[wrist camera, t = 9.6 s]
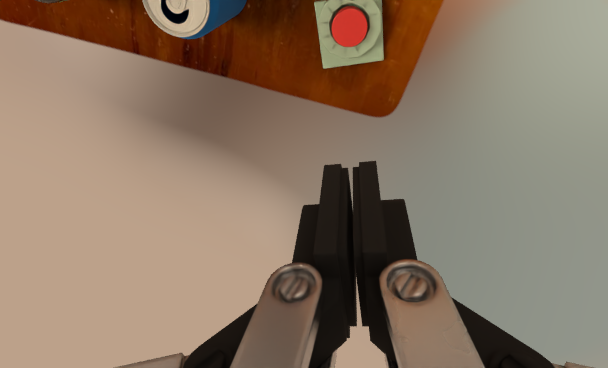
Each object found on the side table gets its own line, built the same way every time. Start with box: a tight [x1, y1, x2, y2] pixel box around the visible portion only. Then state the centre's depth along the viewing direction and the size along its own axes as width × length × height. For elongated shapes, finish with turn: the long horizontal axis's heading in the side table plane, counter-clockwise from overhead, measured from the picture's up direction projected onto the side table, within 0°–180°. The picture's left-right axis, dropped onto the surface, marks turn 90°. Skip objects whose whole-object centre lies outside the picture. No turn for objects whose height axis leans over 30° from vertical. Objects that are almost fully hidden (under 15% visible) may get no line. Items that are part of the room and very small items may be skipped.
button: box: [332, 6, 367, 47], centre depth 35 cm, size 4×4×2 cm
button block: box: [314, 0, 384, 69], centre depth 37 cm, size 8×7×3 cm
